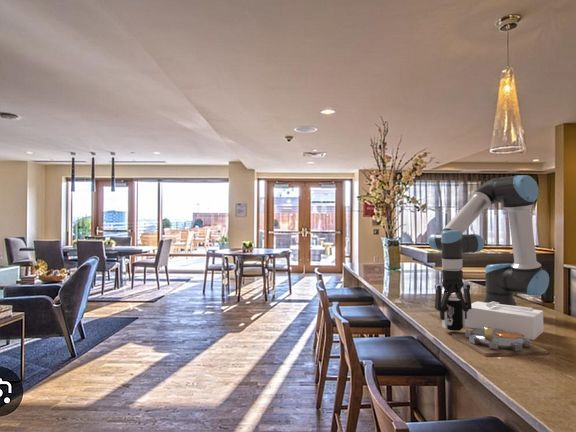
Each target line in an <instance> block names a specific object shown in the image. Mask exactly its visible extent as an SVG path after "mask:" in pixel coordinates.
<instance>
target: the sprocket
mask: <svg viewBox="0 0 576 432" xmlns="http://www.w3.org/2000/svg"><path fill="white" fill-rule="evenodd" d="M464 334H465V337H466V338H469V342H471V343H473V344H480V345H484V346H488V347H489V348H491V349H497V350H498V349H499V348H500V349H512V350H515V351H518V350H522V347H524V346H525V347H530V343H531V339H527V338H524V335H523V334H520V333H514V332H509V331H504V329H498V328H495V329H492V328H491V327H485V329H483V328H473V329H472V330H469V329H466V331H465V333H464Z"/></svg>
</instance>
